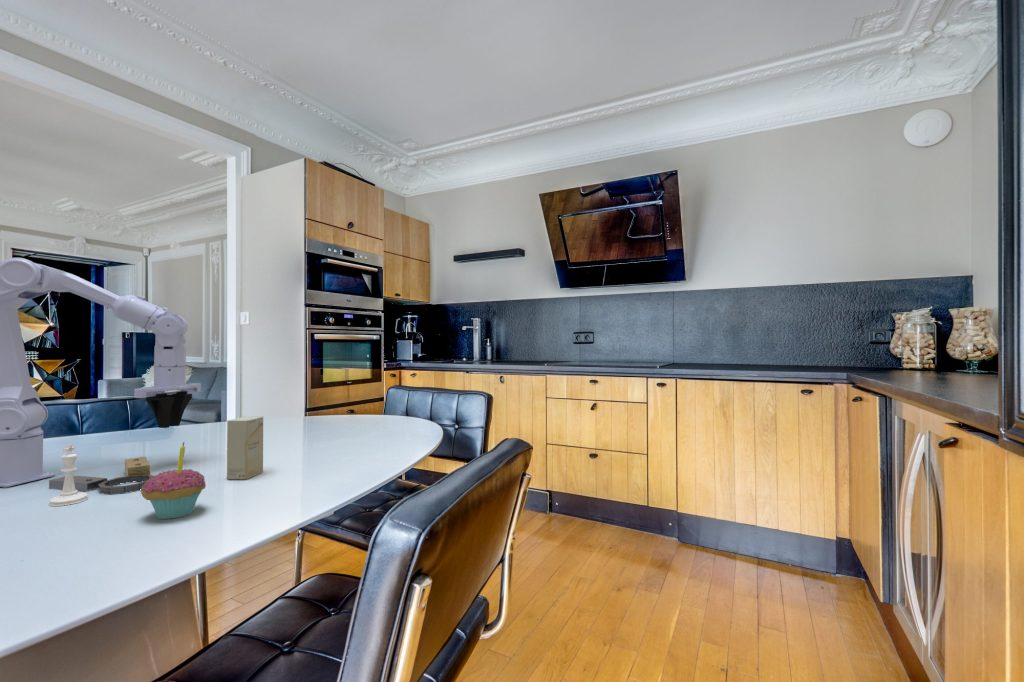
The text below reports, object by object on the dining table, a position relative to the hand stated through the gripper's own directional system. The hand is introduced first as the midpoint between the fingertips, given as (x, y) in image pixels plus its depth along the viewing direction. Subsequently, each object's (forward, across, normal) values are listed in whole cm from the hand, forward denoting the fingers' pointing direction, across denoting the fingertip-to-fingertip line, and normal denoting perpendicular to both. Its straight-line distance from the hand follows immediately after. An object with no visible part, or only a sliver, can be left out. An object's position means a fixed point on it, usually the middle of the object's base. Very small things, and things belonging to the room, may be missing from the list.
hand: (169, 426), depth 103 cm
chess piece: (+9, -22, -4) cm, 25 cm away
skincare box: (+9, -2, -22) cm, 24 cm away
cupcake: (+9, -24, -27) cm, 37 cm away
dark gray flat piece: (+9, -14, -1) cm, 17 cm away
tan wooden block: (+9, -7, 0) cm, 11 cm away
